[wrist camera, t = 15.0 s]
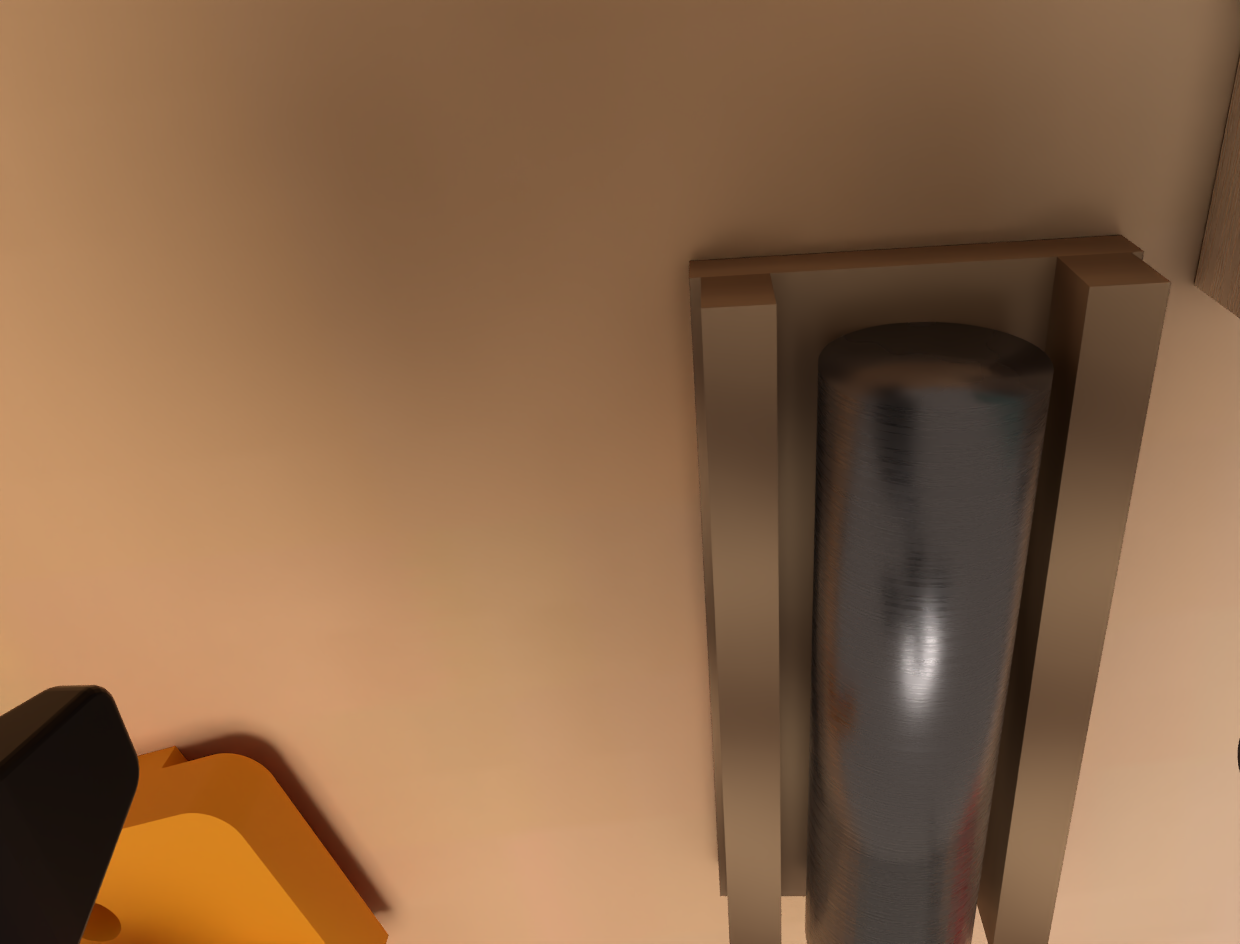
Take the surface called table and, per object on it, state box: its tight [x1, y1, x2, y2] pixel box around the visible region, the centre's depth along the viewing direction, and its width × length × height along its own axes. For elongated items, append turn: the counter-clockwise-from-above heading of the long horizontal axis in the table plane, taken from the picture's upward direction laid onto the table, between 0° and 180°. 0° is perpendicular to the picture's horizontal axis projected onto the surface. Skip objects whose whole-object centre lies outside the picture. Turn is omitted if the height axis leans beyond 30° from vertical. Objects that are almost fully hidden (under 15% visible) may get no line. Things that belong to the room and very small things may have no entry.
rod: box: [805, 322, 1054, 944], centre depth 19 cm, size 14×4×4 cm, turn 4°
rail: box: [689, 235, 1171, 944], centre depth 21 cm, size 16×8×3 cm, turn 5°
